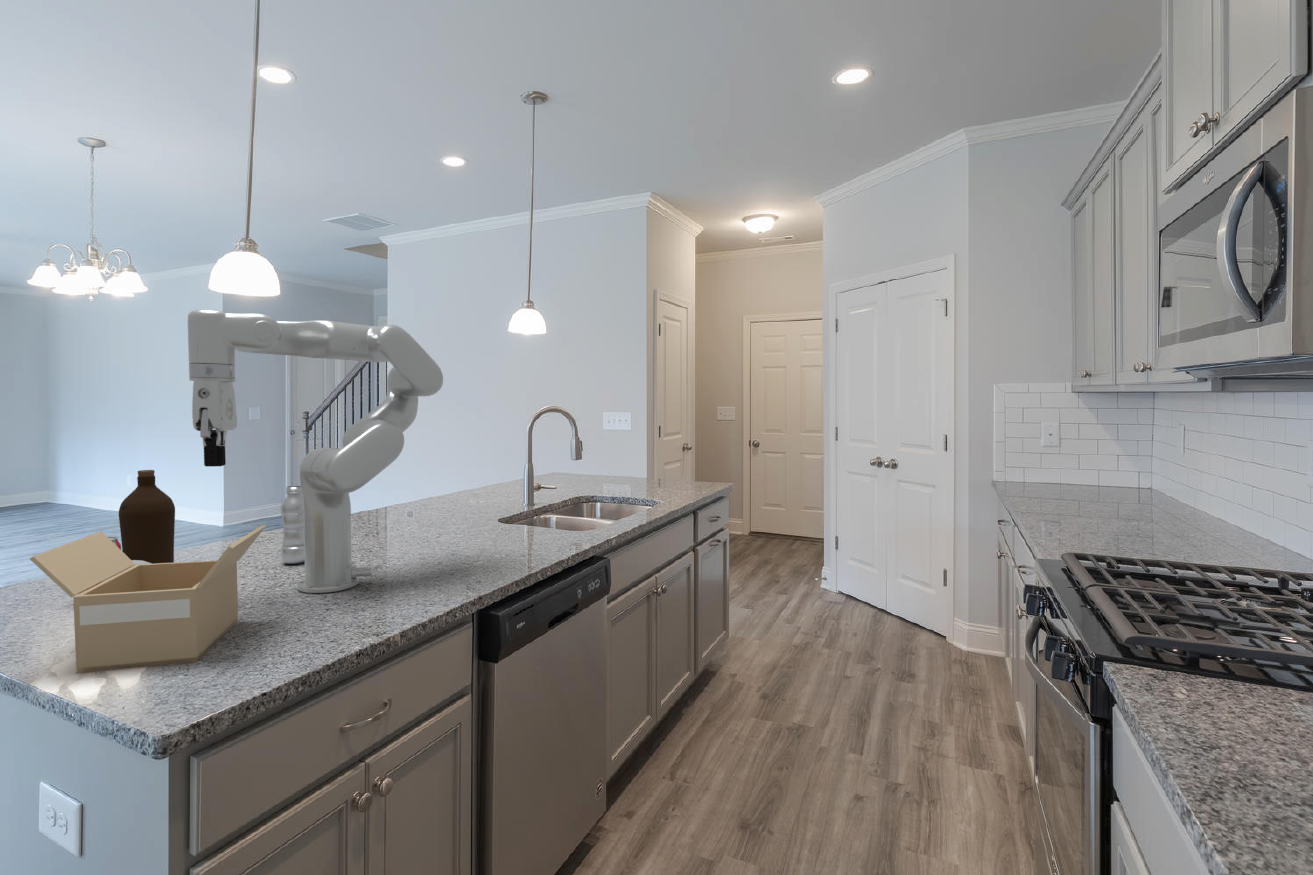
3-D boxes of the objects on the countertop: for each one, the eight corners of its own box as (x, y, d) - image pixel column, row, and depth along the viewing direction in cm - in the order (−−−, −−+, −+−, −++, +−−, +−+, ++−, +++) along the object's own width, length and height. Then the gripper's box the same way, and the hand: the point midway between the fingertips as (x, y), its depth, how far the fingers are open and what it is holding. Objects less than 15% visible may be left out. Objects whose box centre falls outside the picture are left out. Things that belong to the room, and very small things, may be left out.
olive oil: (160, 578, 150) (157, 472, 148) (109, 580, 148) (105, 473, 147) (186, 567, 160) (183, 468, 159) (139, 568, 159) (135, 468, 157)
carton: (238, 620, 122) (236, 559, 122) (196, 662, 103) (194, 589, 103) (138, 628, 118) (136, 564, 117) (76, 673, 99) (72, 597, 98)
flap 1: (101, 531, 115) (98, 533, 115) (33, 556, 97) (29, 558, 96) (135, 563, 117) (132, 566, 117) (74, 594, 98) (71, 597, 98)
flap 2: (228, 546, 104) (232, 548, 104) (263, 524, 122) (266, 525, 123) (196, 587, 103) (199, 589, 103) (235, 558, 121) (238, 560, 122)
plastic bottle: (288, 560, 168) (286, 484, 167) (315, 559, 169) (313, 484, 168) (275, 566, 162) (274, 488, 161) (303, 566, 162) (302, 488, 161)
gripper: (220, 372, 121) (223, 469, 122) (246, 375, 135) (248, 462, 136) (174, 371, 118) (177, 470, 119) (204, 374, 133) (207, 462, 134)
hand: (215, 465), depth 128 cm, fingers closed
